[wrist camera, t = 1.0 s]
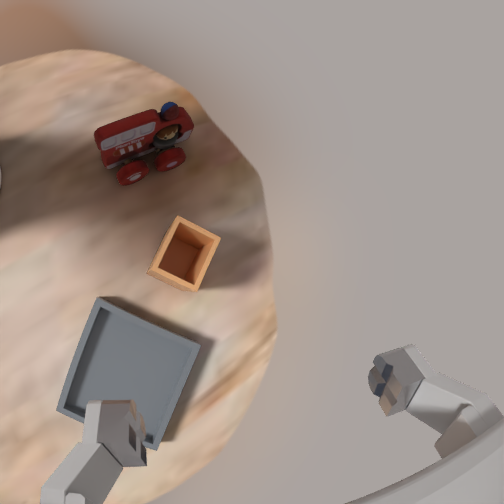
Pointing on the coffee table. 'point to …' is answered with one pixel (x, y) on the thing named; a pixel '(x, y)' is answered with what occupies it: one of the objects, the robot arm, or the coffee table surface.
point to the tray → (128, 367)
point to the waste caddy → (184, 255)
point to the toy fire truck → (144, 141)
